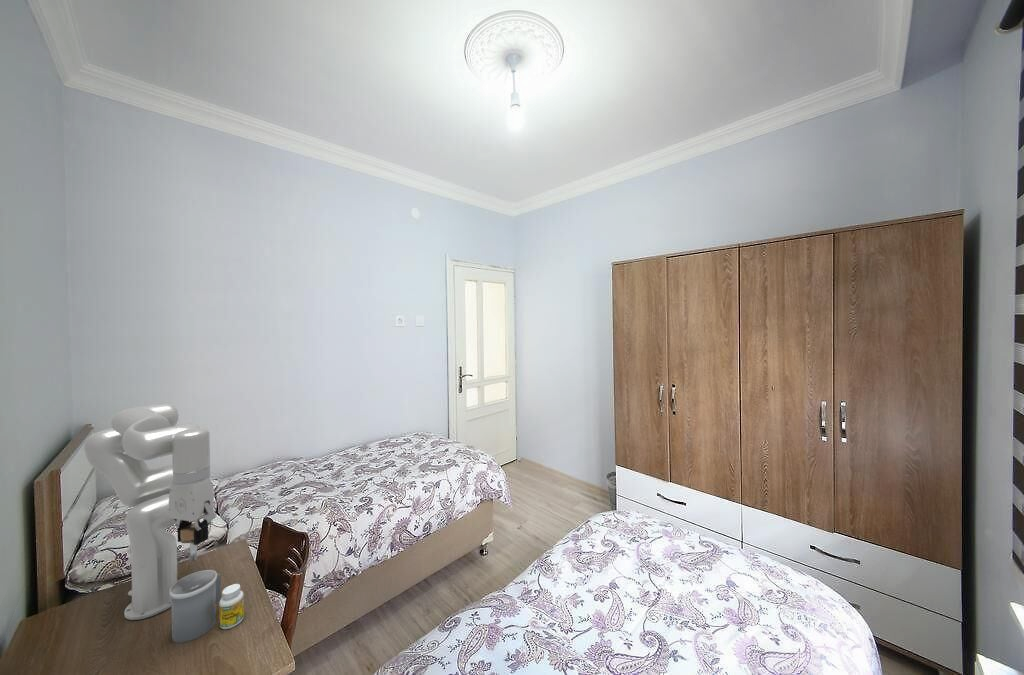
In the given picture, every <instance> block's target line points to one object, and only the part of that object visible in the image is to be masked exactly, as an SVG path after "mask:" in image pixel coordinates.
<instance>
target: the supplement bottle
mask: <svg viewBox="0 0 1024 675" xmlns="http://www.w3.org/2000/svg"><path fill="white" fill-rule="evenodd" d="M244 598H245V597H244V591H243V590H241V585H240V584H239V583H233V584H231V585H228V586H226V587H224V589H223V590H221V600H220V602H218V604H219V605H218V606H219V607H218V608H219V627H220V628H221V629H223V630H229V629H232V628H234V627H235V626H238V625H239V624H240V623H241V622H242V621H243V619H244V618H245V600H244Z"/></svg>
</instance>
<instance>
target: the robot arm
mask: <svg viewBox="0 0 1024 675" xmlns="http://www.w3.org/2000/svg"><path fill="white" fill-rule="evenodd" d="M178 421H179V411H178V409H177V408H176V407H175V405H173V404H171V403H167V402H165V403H163V402H162V403H155V404H154V403H153V404H148V405H142V406H135V407H129V408H126V409H123V410H121V411H119V412H117V413H116V414H115V415H114V416H113V417H112V419H111V422H110V423H111V424H110V425H111V427H110V428H106V429H103V430H100V431H98V432H95V433H93V434H90V435H89V436H88V437H87V438H86V440H85V442H84V445H83V447H84V453H85V457H86V459H87V461H88V462H89V464H90V465H91V466H92V467H93V468H94V469H95V470H96V471H98V473H100V474H101V475H103V476H104V478H106V479H107V480H108V482H109V484H110V486H111V488H112V489H113V491H114V493H115V495H116V496H117V497H118V499H119V501H120V502H121V504H123V505H124V506H125V507H128V508H131V509H130V510H128V512H127V513H126V515H125V519H124V520H125V527H126V531H127V535H128V538H129V546H130V564H131V566H130V567H131V589H130V590H129V591H128V593H127V595H128V596H131V602H130V603H129V604H128V605H127V606H126V608H125V609H124V612H123V613H124V618H125V619H126V620H129V621H137V620H144V619H146V618H147V619H148V618H150V617H153V616H156V615H158V614H161V613H162V612H165V611H166V610H168V609H170V608H171V597H170V588H171V587H172V586H173V585H174V584H175V583H176V582H177V581H178V555H177V554H178V553H177V552H178V549H177V548H178V546H177V545H178V544H177V543H181V536H180V530H181V529H182V528H183V527H185V526H187V525H189V524H192V523H195V527H196V530H195V531H194V545H197V546H198V545H200V544H203V542H205V541H207V540H208V539H209V526H210V525H211V522H212V521H213V520H215V519H216V517H217V515H216V514H215V512H214V511H215V510H214V506H215V504H214V492H213V490H214V489H213V486H212V480H211V449H210V448H211V447H210V445H211V444H210V432H209V430H208V429H207V428H205V427H204V428H203V427H200V426H199V425H198V424H196V423H185V424H180V425H177V423H178ZM166 456H172V460H171V461H172V464H170V465H166V466H163V467H159V468H155V469H154V468H153V469H150V468H149V466H148V465H147V463H146V462H145V461H151V460H155V459H159V458H162V457H166ZM201 519H203V520H202V521H200V520H201ZM200 522H201V523H200ZM174 525H175V527H176V528H177V539H176V536H175V535H174V534H172V533H171V532H168V531H166V529H168V528H169V527H172V526H174Z"/></svg>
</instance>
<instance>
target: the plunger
mask: <svg viewBox="0 0 1024 675" xmlns="http://www.w3.org/2000/svg"><path fill="white" fill-rule="evenodd" d="M201 522H202V521H200V523H201ZM195 530H196V527H195V523H194V522H192V524H189V525H187V526H185V527H183V528H182V529H181V530H180V536H181V542H180V543H181V544H189V561H190V562H193V561H195V560H196V561H197V559H198V545H194V531H195Z"/></svg>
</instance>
